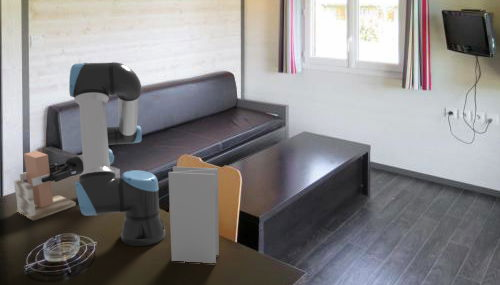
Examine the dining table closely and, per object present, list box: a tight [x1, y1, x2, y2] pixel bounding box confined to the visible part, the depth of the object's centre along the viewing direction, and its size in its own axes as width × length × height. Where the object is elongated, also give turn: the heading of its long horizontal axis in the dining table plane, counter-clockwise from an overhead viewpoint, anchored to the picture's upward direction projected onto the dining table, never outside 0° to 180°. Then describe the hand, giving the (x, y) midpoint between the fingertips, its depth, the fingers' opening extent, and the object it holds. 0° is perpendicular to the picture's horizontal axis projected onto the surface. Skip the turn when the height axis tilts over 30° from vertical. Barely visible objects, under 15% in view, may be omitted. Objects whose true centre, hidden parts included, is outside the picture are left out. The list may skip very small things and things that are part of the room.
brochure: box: [168, 166, 220, 264], centre depth 148 cm, size 14×6×30 cm, turn 84°
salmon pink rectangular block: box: [23, 150, 54, 207], centre depth 183 cm, size 8×5×20 cm, turn 54°
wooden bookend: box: [13, 178, 77, 221], centre depth 186 cm, size 12×18×14 cm, turn 144°
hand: (26, 179), depth 179 cm, fingers closed on salmon pink rectangular block, 8 cm apart
